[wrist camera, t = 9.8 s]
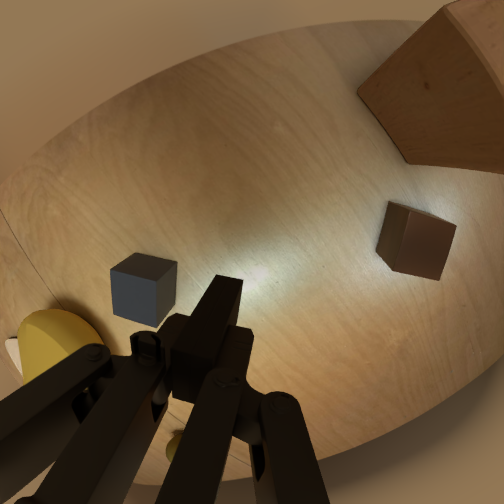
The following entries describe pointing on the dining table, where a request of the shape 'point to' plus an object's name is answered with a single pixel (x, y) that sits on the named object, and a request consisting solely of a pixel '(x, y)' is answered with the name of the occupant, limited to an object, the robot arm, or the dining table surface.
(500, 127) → the wooden block
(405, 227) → the walnut block
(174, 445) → the apple
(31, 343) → the vase
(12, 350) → the plate
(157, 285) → the slate block
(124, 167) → the dining table surface
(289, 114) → the dining table surface
